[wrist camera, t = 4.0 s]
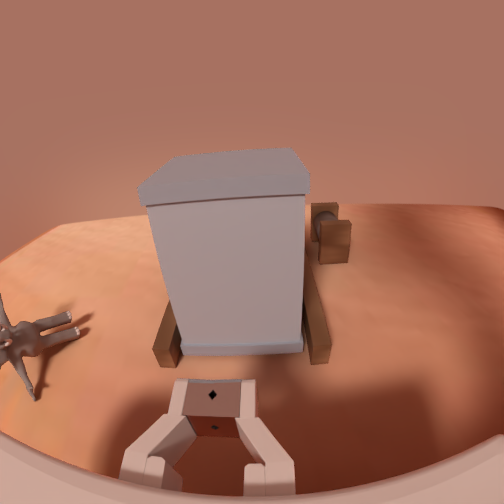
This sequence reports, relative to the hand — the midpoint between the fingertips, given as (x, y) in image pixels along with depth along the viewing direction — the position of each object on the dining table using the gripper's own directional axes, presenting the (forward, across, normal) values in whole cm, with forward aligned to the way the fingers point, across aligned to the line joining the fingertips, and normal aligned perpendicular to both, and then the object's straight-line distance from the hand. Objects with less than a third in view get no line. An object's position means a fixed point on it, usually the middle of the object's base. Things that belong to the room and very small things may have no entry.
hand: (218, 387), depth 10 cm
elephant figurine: (+5, +18, +7) cm, 20 cm away
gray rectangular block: (+11, 0, +7) cm, 13 cm away
